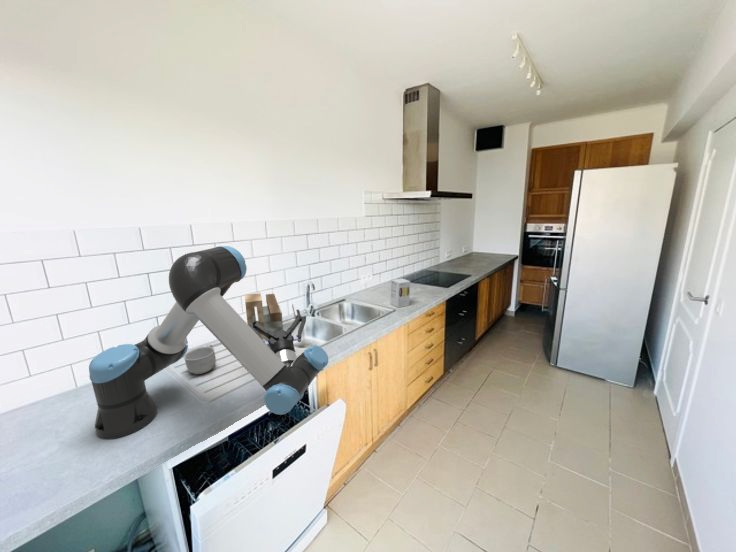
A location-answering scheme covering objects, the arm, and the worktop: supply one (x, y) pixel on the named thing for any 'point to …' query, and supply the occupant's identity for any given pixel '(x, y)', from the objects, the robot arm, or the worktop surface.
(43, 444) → the worktop surface
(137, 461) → the worktop surface
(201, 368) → the teacup
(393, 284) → the supplement box
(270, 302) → the rail
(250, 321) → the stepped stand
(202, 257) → the robot arm
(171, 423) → the worktop surface
